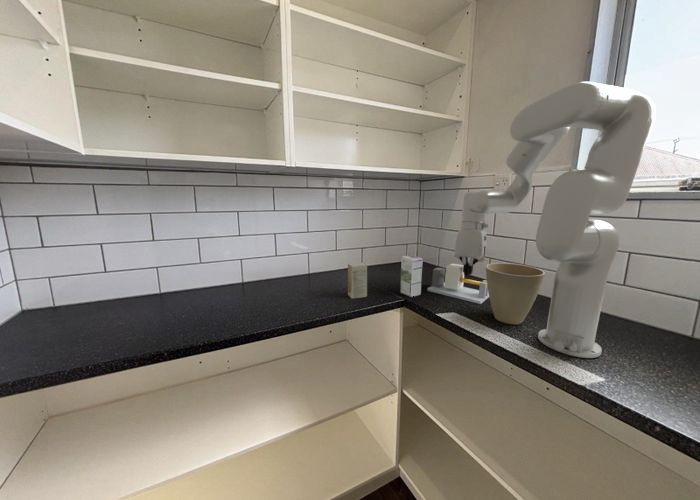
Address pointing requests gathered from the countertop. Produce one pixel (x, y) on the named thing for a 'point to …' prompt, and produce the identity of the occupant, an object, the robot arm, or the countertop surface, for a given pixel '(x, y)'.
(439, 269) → the grey rod holder
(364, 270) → the skincare box
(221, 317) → the countertop surface
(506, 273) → the plant pot
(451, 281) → the slotted white cube
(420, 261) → the syrup box
